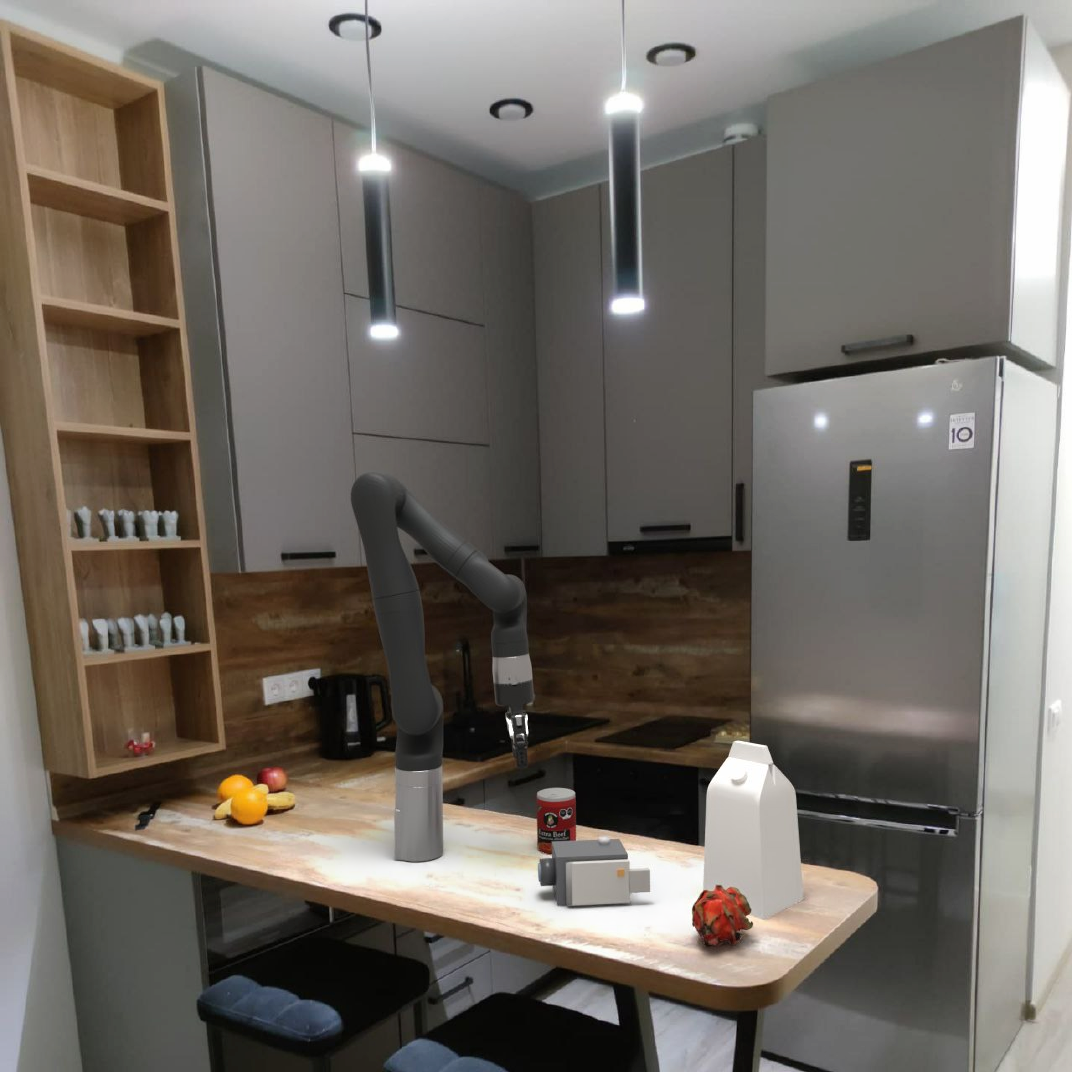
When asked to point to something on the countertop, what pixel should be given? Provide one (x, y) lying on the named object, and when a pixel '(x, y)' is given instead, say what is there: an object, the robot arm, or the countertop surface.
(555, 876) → the camera body
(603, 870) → the side door
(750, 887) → the milk
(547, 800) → the canned food
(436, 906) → the countertop surface
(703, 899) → the dragon fruit
